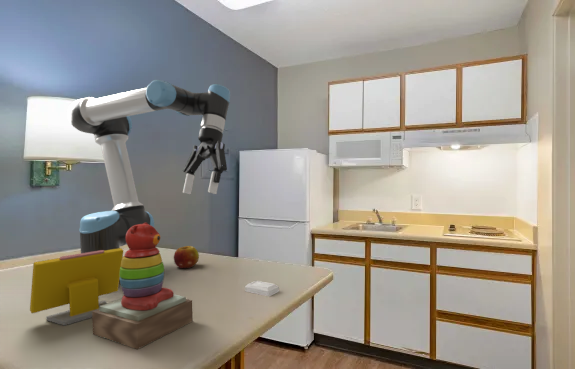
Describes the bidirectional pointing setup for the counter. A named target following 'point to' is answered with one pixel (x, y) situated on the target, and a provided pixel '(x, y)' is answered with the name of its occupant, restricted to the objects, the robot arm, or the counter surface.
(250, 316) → the counter surface
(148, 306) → the stacking bear
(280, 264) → the counter surface
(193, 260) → the fruit
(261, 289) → the white beveled block
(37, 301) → the toy computer monitor
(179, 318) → the plinth
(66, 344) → the counter surface
